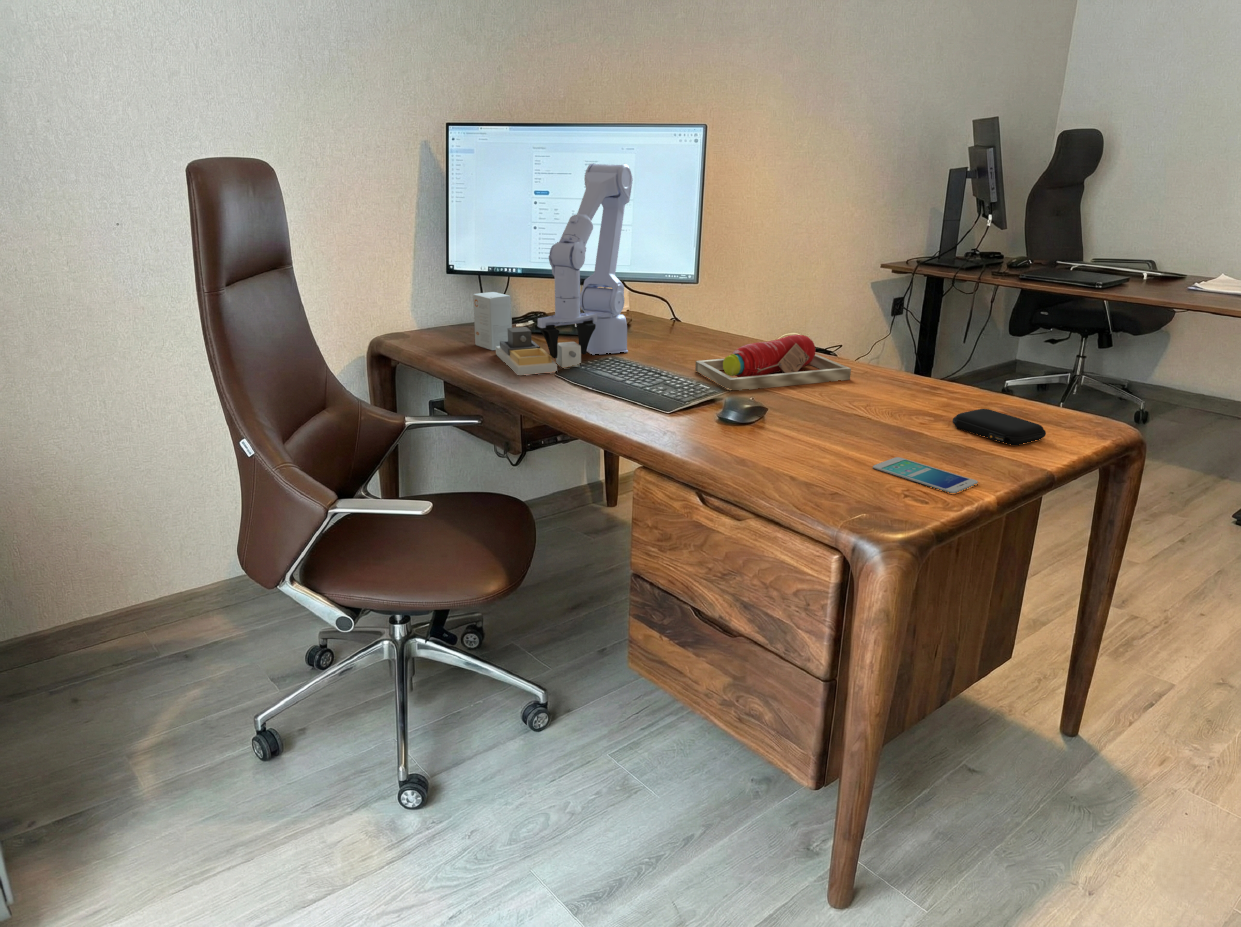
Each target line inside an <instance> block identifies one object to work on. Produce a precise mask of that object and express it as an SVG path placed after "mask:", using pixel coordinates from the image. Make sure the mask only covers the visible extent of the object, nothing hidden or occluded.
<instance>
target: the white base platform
mask: <svg viewBox="0 0 1241 927" xmlns="http://www.w3.org/2000/svg"><path fill="white" fill-rule="evenodd" d="M495 355H496V356H497V357H498V358H499V359H500V360H501V361H502V362H503V363H504V362H505V363H506V364H505V363H504V364H505V365H506V366H507V365H508V366H509V367H510V368H511V369H512V370H513V371H514V372H515V373H516V374H518V375H524V374H535V373H544V372H552V371H557V372H558V365H557V364H556V361H554V360H553V358H552V356H551V355H550V353H549V352H547V351H546V350H545V349H543V348H542V347H541V346H539V345H538V343H536V342H535V341H533V340H532V347H520V348H510V347H509V346H508V341H500V346H496V350H495ZM508 366H507V367H508ZM509 367H508V368H509ZM510 368H509V369H510ZM511 369H510V370H511ZM512 370H511V371H512ZM513 371H512V372H513ZM515 373H514V374H515ZM516 374H515V375H516Z"/></svg>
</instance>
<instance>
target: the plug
mask: <svg viewBox="0 0 1241 927" xmlns="http://www.w3.org/2000/svg"><path fill="white" fill-rule="evenodd" d="M557 349H558V355H557V358H555V363H557V364H558V365H560V366H561V367H568V366H572V365H577V364H579V363H581V364H582V354H581V346H580V345H579V343H577V342H575V341H564V342H558V343H557ZM558 365H557V366H558ZM560 366H559V367H560ZM561 367H560V368H561Z"/></svg>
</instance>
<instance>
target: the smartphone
mask: <svg viewBox="0 0 1241 927" xmlns="http://www.w3.org/2000/svg"><path fill="white" fill-rule="evenodd" d="M872 470H875V471H878V472H881V473H884V474H887V475H890V476H893V477H896V478H900V479H903V480H905V481H908V482H912V483H915V484H917V483H918V485H920V484H921V485H920V486H923V487H926V486H927V488H930V487H932V488H931V489H933V488H935V489H934V490H936V489H939V490H942V491H946V492H949V493H957V492H959V491H962V490H964V489H967V488H969V487H971V486H974V484H977V483H978V484H979V482H978V480H977V479H973V478H970V477H966V476H963V475H959V474H956V473H953V472H951V471H946V470H943V469H940V468H936V467H933V466H931V465H927V464H923V463H920V462H917V461H914V460H910V459H907V458H904V457H899V456H897V457H893V458H889V459H887V460H884V461H881V462H879V463H876V464H874V465H873V466H872ZM939 490H938V491H939ZM942 491H941V492H942Z"/></svg>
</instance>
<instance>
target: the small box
mask: <svg viewBox="0 0 1241 927" xmlns="http://www.w3.org/2000/svg"><path fill="white" fill-rule="evenodd" d="M511 300H512V298H511V295H508V294H504V293H500V292H496V291H488V292H481V293H480V292H479V293H473V294H472V302H473V319H474V320H473V321H474V322H473V323H474V340H475V342H474V343H475V346H477V347H481V348H483V349H487V350H489V351H496V346H500V341H508V329H507V328H513V320H512V301H511Z"/></svg>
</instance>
